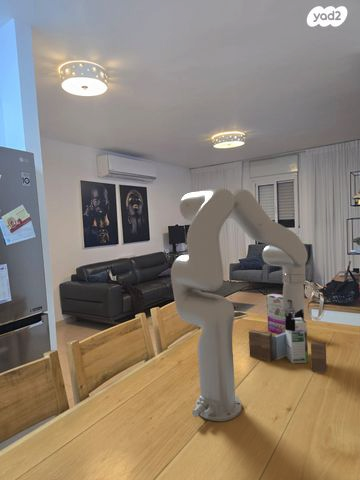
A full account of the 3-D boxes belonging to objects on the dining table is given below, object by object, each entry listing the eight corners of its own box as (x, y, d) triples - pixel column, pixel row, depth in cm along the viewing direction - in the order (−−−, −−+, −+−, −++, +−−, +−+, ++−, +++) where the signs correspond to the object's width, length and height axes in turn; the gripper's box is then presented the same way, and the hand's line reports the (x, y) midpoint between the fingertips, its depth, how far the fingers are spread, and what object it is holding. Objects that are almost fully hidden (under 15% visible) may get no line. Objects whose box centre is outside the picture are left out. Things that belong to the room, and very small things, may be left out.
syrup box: (292, 363, 109) (290, 323, 108) (286, 356, 115) (284, 317, 114) (308, 362, 109) (307, 322, 108) (301, 355, 115) (300, 316, 114)
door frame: (324, 374, 100) (323, 345, 100) (249, 356, 116) (247, 331, 116) (326, 370, 103) (325, 342, 102) (252, 353, 119) (251, 329, 118)
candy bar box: (296, 334, 135) (294, 296, 133) (289, 337, 132) (288, 299, 130) (274, 327, 144) (272, 292, 142) (267, 330, 141) (265, 294, 139)
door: (301, 350, 117) (300, 328, 117) (277, 361, 110) (276, 337, 110) (296, 348, 119) (295, 326, 119) (272, 359, 112) (271, 335, 112)
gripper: (291, 273, 119) (292, 318, 120) (274, 281, 105) (275, 331, 106) (312, 275, 114) (312, 321, 115) (297, 283, 101) (298, 335, 102)
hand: (294, 326), depth 111 cm, fingers open, 9 cm apart
